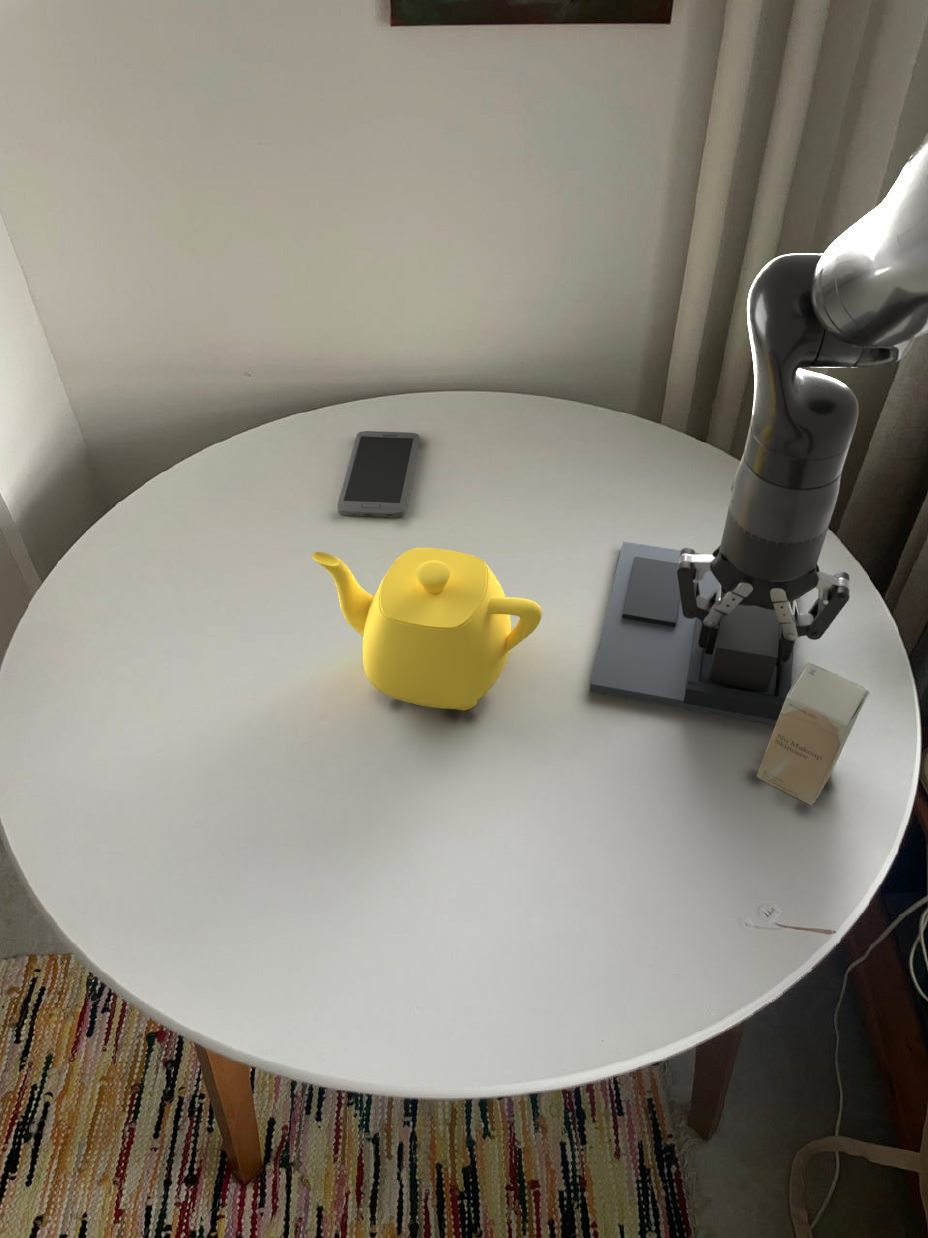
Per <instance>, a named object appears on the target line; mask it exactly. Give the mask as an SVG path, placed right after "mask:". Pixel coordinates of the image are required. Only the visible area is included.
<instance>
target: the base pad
mask: <svg viewBox="0 0 928 1238" xmlns="http://www.w3.org/2000/svg"><path fill="white" fill-rule="evenodd" d="M681 550H682V549H681ZM681 550H680V549H676V548H675V549H674V548H668V547H663V546H662V547H660V546H656V545H655V546H654V545H649V544H641V543H636V542H635V543H634V542H629V541H622V544H621V549H620V551H619V552H620V553H619V557H618V562H617V565H616V571H615V575H614V578H613V582H612V586H611V587H612V588H611V591H610V595H609V600H608V605H607V609H606V614H605V618H604V622H603V627H602V631H601V635H600V640H599V644H598V648H597V652H596V657H595V662H594V666H593V671H592V673H591V675H592V676H591V679H590V682H589V691H590V692H594V693H599V694H604V695H610V696H616V697H622V698H627V699H632V700H638V701H643V702H648V703H653V704H654V703H655V704H660V705H664V706H671V707H675V708H681V709H686V710H691V711H698V712H703V713H709V714H714V715H719V716H723V717H728V718H729V717H730V718H736V719H741V720H746V721H753V722H758V723H762V724H767V725H772V726H776V723H777V720H778V718H779V715H780V712H781V710H782V707H783V705H784V702H785V699H786V697H787V694H788V693H789V691H790V689H791V687H792V676H793V659H794V658H793V657H794V648H793V649H792V652H791V655H790V658H789V659H788V660H787V661H786V662H782V661H780V665H779V667H778V666H775V668H774V671H773V675H772V678H771V681H770V685H769V688H768V691H767V692H765V691H759V690H754V689H748V688H743V687H737V686H731V685H726V684H720V683H715V682H709V681H708V680H709V672H710V664H711V657H712V655H709V654H704V653H705V648H702V647H700V646H699V644H698V641H699V634H700V629H701V624H702V622H701V620H700V619H698V618H696V617H695V618H693V619H688V618H686V617H684V616H683V612H682V605H681V597H680V590H679V583H678V576H677V569H678V564H679V558H680V552H681ZM695 555H708V554H706V553H699V552H695ZM718 583H719V582H718V580H717V579H716V578H715V576H714V575H713V573H712V572H711V570H710V571H707V572H705V574H704V578H703V579H702V580H699V589H700V596H702V597H704V598H706V599H708V598H709V597H710V595H711V594H712V593H713V592H714V591H715V590H716V588H717V586H718Z"/></svg>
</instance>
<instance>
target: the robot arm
mask: <svg viewBox="0 0 928 1238" xmlns="http://www.w3.org/2000/svg"><path fill="white" fill-rule="evenodd" d="M746 312H747V328H748V334H749V341H750V347H751V354H752V362H753V363H752V364H753V375H754V378H753V379H754V393H753V405H752V414H751V419H750V423H749V427H748V432H747V435H746V436H747V437H746V441H745V445H744V450H743V454H742V457H741V459H740V462H739V464H738V467H737V470H736V473H735V476H734V479H733V482H732V484H731V490H730V494H731V495H730V498H729V499H730V500H729V504H728V510H727V513H726V518H725V523H724V527H723V530H722V531H723V533H722V537H721V541H720V545H719V546H718V547H717V548H716V549H715V550H713V552H712V553H711V554H707V555H695V553H696V551H695V550H694V549H693V548H691V547H684V548H681V552H680V558H679V564H678V569H677V576H678V583H679V590H680V597H681V605H682V612H683V616H684V617H686V618H688V619H693V618H695V617H696V618H698V619H700V620H701V622H702V624H701V629H700V634H699V641H698V644H699V646H700V647H702V648H705V653H704V654H709V655H712V654H713V650H714V646H715V641H716V637H717V633H718V628H719V622H720V621H721V620H722V619H723V618H724V617H725V615H727V616H728V615H730V613H731V612H732V611H733V610H734V609H735V608H736V607H737V606H738V605H745V606H759V607H762V608H764V609H769V610H775V613H776V617H777V621H778V624H780V633H779V646H778V658H777V662H776V665H775V666H778V667H779V665H780V661H782V662H786V661H787V660H788V659H789V658H790V655H791V652H792V649H793V650H794V646H795V642H796V640H797V639H798V638H800V637H806V638H808V639H810V640H812V641H816V640H819V639H821V638H822V636H824V634H825V633H826V631H827V630H828V629H829V628H830V626H831V625H832V623H833V622H834V621H835V619H836V618H837V617H838V615H839V614H840V612H841V611H842V610H843V608H844V607H845V606H846V604H847V603H848V602H849V600H850V588H851V587H850V584H851V583H850V574H849V573H847V572H846V571H838V572H836V573H835V574H833V575H832V574H829V573H826V572H823V571H820V567H819V564H818V562H819V558H820V556H821V552H822V549H823V545H824V543H825V540H826V536H827V533H828V530H829V527H830V524H831V520H832V518H833V514H834V511H835V508H836V504H837V501H838V497H839V493H840V488H841V479H842V473H843V469H844V466H845V464H846V460H847V456H848V453H849V450H850V447H851V444H852V440H853V438H854V434H855V431H856V427H857V424H858V420H859V413H860V412H859V411H860V410H859V402H858V398H857V397H856V395H855V393H854V391H852V390H851V388H850V387H849V386H847V385H846V384H845V383H843V382H842V381H840V380H838V379H837V378H833V377H831V376H828V375H825V374H823V373H818V372H814V371H811V370H806V369H807V368H809V369H812V368H814V369H815V368H819V369H820V368H822V369H823V368H826V369H827V368H828V369H829V368H833V369H834V368H850V369H851V368H852V369H854V368H856V369H857V368H863V369H864V368H877V367H882V366H883V367H884V366H887V365H892V364H895V363H898V362H899V361H901V360H902V359H904V358H905V357H906V355H907V354H909V351H910V349H911V347H912V345H913V344H914V341H915V340H916V338H919V337H921V336H925V335H926V334H928V130H927V131H926V133H925V134H924V136H923V138H922V139H921V141H920V142H919V144H918V145H917V147H916V148H915V150H914V151H913V153H912V154H911V156H910V157H909V159H908V160H907V163H906V164H905V165H904V167H903V168H902V170H901V172H900V174H899V176H898V178H897V179H896V181H895V183H894V184H893V186H892V187H891V189H890V190H889V192H888V193H887V195H886V197H884V199H883V200H882V202H881V203H879V204H878V205H877V206H876V207H875V208H874V209H872V210H871V211H869V212H868V213H867V214H865V215H864V216H863V217H861V218H860V219H859V220H858V221H857V222H855V223H854V224H853V225H851V226H850V227H848V229H846V230H845V231H844V232H843V233H842V234H840V235H839V236H838V237H837V238H836V239H835V240H834V241H833V242H831V244H830V245H829V246H828V247H827V249H826V250H825V251H824V253H788V254H783V255H779V256H777V257H775V258H773V259H772V260H770V261H769V262H767V264H765V266H763V268H762V269H761V270H760V271H759V273H758V274H757V275H756V277H755V279H754V280H753V282H752V284H751V287H750V289H749V292H748V297H747V306H746ZM805 368H806V369H805ZM710 570H711V572H712V573H713V575H714V576H715V578H716V579H717V580H718V582H719V583H718V586H717V588H716V590H715V591H714V592H713V593H712V594H711V595H710V597H709V598H708V599H706V598H704V597H702V596H700V589H699V580H702V579H703V578H704V574H705V572H707V571H710ZM815 588H816V589H818V591H817V598H816V600H815V602H814V603H813V604H812V606H811V607H810V609H809V610H808V612H807V613H800V612H799V608H798V605H797V599H800V597H802V596H804V595H806V594H807V593H809V592H811V591H813V590H815Z"/></svg>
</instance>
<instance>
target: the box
mask: <svg viewBox="0 0 928 1238" xmlns="http://www.w3.org/2000/svg"><path fill="white" fill-rule="evenodd" d="M869 694H870V690H869V689H868V688H866V687H864V686H863V685H860V684H858V683H856V682H853V680H850V679H848V678H845V677H844V676H841V675H839V674H837V673H834V672H833V671H830V670H827V669H825V668H823V667H821V666H818V665H816V664H814V663H812V662H810V661H807V662H806V663H805V665H804V666H803V667H802V669H801V671H800V672H799V674H798V676H797V677H796V679H795V680H794V682H793V684H792V685H791V689H790V691H789V693H788V694H787V697H786V699H785V702H784V705H783V707H782V710H781V712H780V715H779V718H778V720H777V723H776V725H774V729H773V731H772V734H771V737H770V740H769V742H768V745H767V748H766V750H765V753H764V755H763V758H762V760H761V763H760V765H759V769H758V772H757V773H756V777H757V778H758V779H759V780H761V781H763V782H765V783H766V784H769V785H771V786H772V787H775V788H776V789H778V790H780V791H782V792H784V793H786V794H787V795H789V796H791V797H793V798H795V799H797V800H799V801H801V802H803V803H805V804H807V805H809V806H813V805H814V804H815V802H817V799H818V798H819V796H820V795H821V793H822V792H823V789H824V788H825V786H826V784H827V782H828V780H829V779H830V777H831V775H832V773H833V770H834V768H835V767H836V765H837V762H838V759H839V758H840V755H841V754H842V751H843V749H844V747H845V744H846V743H847V740H848V738H849V736H850V734H851V732H852V731H853V730H852V729H853V728H854V725H855V724H856V721H857V718H858V717H859V714H860V712H861V710H862V708H863V706H864V704H865V702H866V700H867V697H868V696H869Z"/></svg>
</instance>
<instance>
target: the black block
mask: <svg viewBox="0 0 928 1238" xmlns="http://www.w3.org/2000/svg"><path fill="white" fill-rule="evenodd" d="M779 633H780V624H778V621H777V617H776V613H775V610H769V609H764V608H762V607H759V606H745V605H738V606H737V607H736V608H735V609H734V610H733V611H732V612H731V613H730V615H728V616H727V615H725V617H724V618H723V619H722V620H721V621H720V622H719V628H718V633H717V637H716V641H715V646H714V650H713V654H712V657H711V664H710V672H709V680H708V681H709V682H715V683H720V684H726V685H731V686H737V687H743V688H748V689H754V690H759V691H765V692H767V691H768V688H769V685H770V681H771V678H772V675H773V671H774V668H775V665H776V662H777V658H778V646H779Z"/></svg>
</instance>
